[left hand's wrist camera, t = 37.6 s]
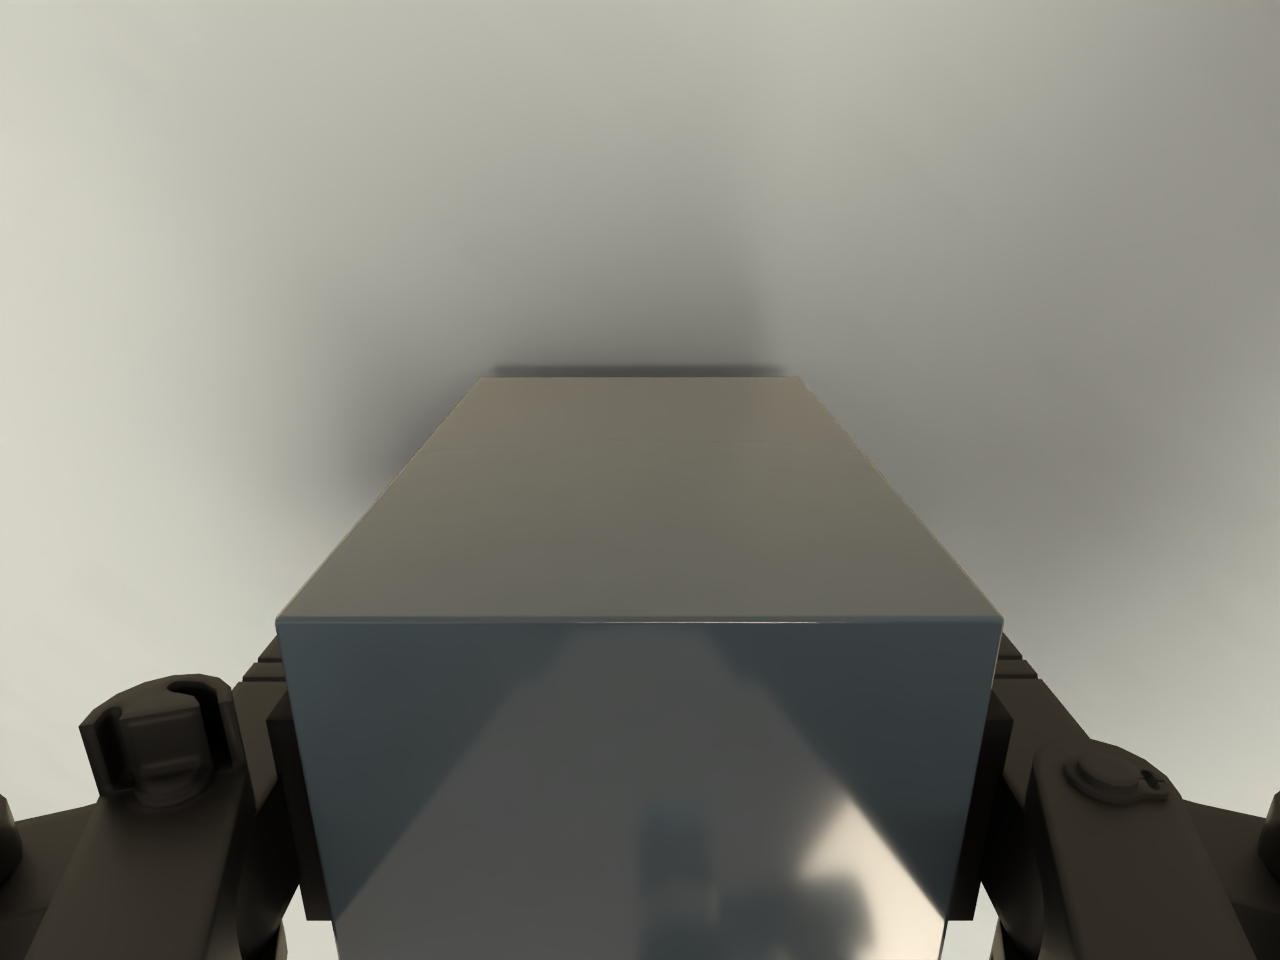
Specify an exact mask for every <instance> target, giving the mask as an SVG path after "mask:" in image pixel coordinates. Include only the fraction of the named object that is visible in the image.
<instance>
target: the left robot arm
mask: <svg viewBox="0 0 1280 960" xmlns="http://www.w3.org/2000/svg"><path fill="white" fill-rule="evenodd" d="M79 730H80V733H81V736H82V740H83V743H84V746H85V749H86V753H87V756H88V759H89V762H90V765H91V769H92V772H93V775H94V778H95V782H96V785H97V788H98V791H99V795H100V796H99V798H98V801H97V803H95V804H91V805H88V806H84V807H80V808H76V809H71V810H66V811H62V812H57V813H53V814H48V815H44V816H39V817H34V818H30V819H25V820H21V821H16V822H15V821H14V819H13V816H12V813H11V810H10V808H9V805H8V802H7V799H6V798H5V797H3V796H2V795H1V794H0V960H287V953H288V952H287V944H286V936H285V931H284V926H283V922H282V918H283V916H284V913H285V911H286V909H287V907H288V905H289V903H290V901H291V899H292V897H293V895H294V893H295V891H296V889H297V887H298V885H300V890H301V895H302V900H303V905H304V910H305V914H306V919H307V921H331V916H330V910H329V905H328V900H327V895H326V889H325V884H324V879H323V874H322V868H321V863H320V858H319V852H318V847H317V842H316V837H315V831H314V826H313V821H312V816H311V810H310V805H309V800H308V795H307V789H306V784H305V779H304V774H303V768H302V763H301V758H300V753H299V747H298V742H297V737H296V732H295V726H294V721H293V716H292V711H291V705H290V700H289V695H288V690H287V684H286V679H285V674H284V669H283V663H282V658H281V653H280V648H279V642H278V637H277V636H276V637H275V638H274V639H273V640H272V642H271V643H270V644H269V645H268V647H267V648H266V649H265V650H264V651H263V653H262V654H261V655H260V656H259V658H258V663H254V664H253V665H252V666H251V667H250V669H249V670H248V671H247V672H246V674H245V675H244V676H243V681H242V682H238V683H237V685H236V686H235V687H234V688H233V690H232V691H231V687H230V686H229V685H227V684H226V683H225V682H224V681H222V680H221V679H220V678H218V677H213V676H208V675H203V674H187V675H172V676H168V677H164V678H160V679H156V680H152V681H148V682H144V683H142V684H140V685H137V686H135V687H132V688H130V689H128V690H125V691H123V692H121V693H118V694H116V695H115V696H113V697H112V698H110V699H109V700H107V701H106V702H104V703H103V704H101V705H100V706H98V707H97V708H95V709H94V710H93V711H92V712H91V713H90V714H89V715H88V716H87V717H86V719H85V720H84V721H83V722H82V723H81V724H80V725H79ZM981 882H982V884H983V886H984V888H985V890H986V892H987V894H988V896H989V898H990V900H991V902H992V904H993V906H994V908H995V910H996V912H997V914H998V916H999V917H998V922H997V926H996V931H995V936H994V940H993V945H992V949H991V954H990V958H989V960H1280V791H1279V792H1278V793H1277V794H1275V795H1274V798H1273V801H1272V803H1271V806H1270V809H1269V812H1268V814H1267V817H1266V818H1262V817H1257V816H1253V815H1248V814H1243V813H1239V812H1234V811H1230V810H1225V809H1220V808H1216V807H1211V806H1207V805H1202V804H1197V803H1194V802H1190V801H1187V800H1183V799H1182V797H1181V795H1180V793H1179V792H1178V791H1177V789H1176V788H1175V787H1174V785H1173V784H1172V783H1171V781H1170V780H1169V779H1168V777H1167V776H1166V775H1164V774H1163V773H1162V772H1160V771H1159V770H1158V769H1157V768H1155V767H1154V766H1153V765H1151V764H1150V763H1149V762H1147V761H1146V760H1145V759H1143V758H1141V757H1139V756H1137V755H1134V754H1132V753H1130V752H1128V751H1126V750H1124V749H1122V748H1120V747H1118V746H1114V745H1111V744H1107V743H1104V742H1100V741H1097V740H1093V739H1090V738H1089V737H1088V735H1087V734H1086V733H1085V732H1084V730H1083V729H1082V728H1081V727H1080V726H1079V724H1078V723H1077V722H1076V721H1075V719H1074V718H1073V717H1072V716H1071V715H1070V713H1069V712H1068V711H1067V710H1066V708H1065V707H1064V706H1063V705H1062V704H1061V702H1060V701H1059V700H1058V699H1057V697H1056V696H1055V695H1054V694H1053V693H1052V691H1051V690H1050V689H1049V688H1048V686H1047V685H1046V684H1045V683H1044V682H1043V680H1042V679H1038V677H1037V673H1036V672H1035V671H1034V669H1033V668H1032V667H1031V666H1030V665H1029V663H1028V662H1027V661H1026V660H1022V655H1021V654H1020V652H1019V651H1018V650H1017V649H1016V647H1015V646H1014V645H1013V644H1012V643H1011V641H1010V640H1009V639H1008V638H1007V636H1006V635H1005V634H1004V633H1003V632H1002V636H1001V642H1000V647H999V652H998V657H997V663H996V668H995V673H994V679H993V684H992V689H991V695H990V700H989V705H988V711H987V716H986V721H985V727H984V732H983V737H982V743H981V748H980V753H979V759H978V764H977V769H976V775H975V780H974V785H973V791H972V796H971V801H970V806H969V812H968V817H967V822H966V828H965V833H964V838H963V844H962V849H961V854H960V860H959V865H958V870H957V876H956V881H955V886H954V892H953V897H952V902H951V908H950V913H949V918H948V921H973V917H974V913H975V908H976V903H977V898H978V893H979V888H980V883H981Z"/></svg>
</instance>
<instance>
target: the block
mask: <svg viewBox="0 0 1280 960" xmlns="http://www.w3.org/2000/svg"><path fill="white" fill-rule="evenodd" d="M275 626H276V632H277V637H278V642H279V648H280V653H281V658H282V663H283V669H284V674H285V679H286V684H287V690H288V695H289V700H290V705H291V711H292V716H293V721H294V726H295V732H296V737H297V742H298V747H299V753H300V758H301V763H302V768H303V774H304V779H305V784H306V789H307V795H308V800H309V805H310V810H311V816H312V821H313V826H314V831H315V837H316V842H317V847H318V852H319V858H320V863H321V868H322V874H323V879H324V884H325V889H326V895H327V900H328V905H329V910H330V916H331V921H332V926H333V931H334V937H335V942H336V947H337V952H338V958H339V960H941V955H942V950H943V945H944V940H945V934H946V929H947V924H948V918H949V913H950V908H951V902H952V897H953V892H954V886H955V881H956V876H957V870H958V865H959V860H960V854H961V849H962V844H963V838H964V833H965V828H966V822H967V817H968V812H969V806H970V801H971V796H972V791H973V785H974V780H975V775H976V769H977V764H978V759H979V753H980V748H981V743H982V737H983V732H984V727H985V721H986V716H987V711H988V705H989V700H990V695H991V689H992V684H993V679H994V673H995V668H996V663H997V657H998V652H999V647H1000V642H1001V636H1002V631H1003V626H1004V620H1003V616H1002V615H1001V614H1000V613H999V612H998V610H997V609H996V608H995V607H994V606H993V605H992V603H991V602H990V601H989V600H988V599H987V597H986V596H985V595H984V594H983V593H982V592H981V590H980V589H979V588H978V587H977V586H976V585H975V583H974V582H973V581H972V580H971V579H970V577H969V576H968V575H967V574H966V573H965V572H964V570H963V569H962V568H961V567H960V566H959V565H958V563H957V562H956V561H955V560H954V559H953V558H952V556H951V555H950V554H949V553H948V552H947V550H946V549H945V548H944V547H943V546H942V545H941V543H940V542H939V541H938V540H937V539H936V538H935V536H934V535H933V534H932V533H931V532H930V530H929V529H928V528H927V527H926V526H925V525H924V523H923V522H922V521H921V520H920V519H919V518H918V516H917V515H916V514H915V513H914V512H913V510H912V509H911V508H910V507H909V506H908V505H907V503H906V502H905V501H904V500H903V499H902V498H901V496H900V495H899V494H898V493H897V492H896V491H895V489H894V488H893V487H892V486H891V485H890V483H889V482H888V481H887V480H886V479H885V478H884V476H883V475H882V474H881V473H880V472H879V471H878V469H877V468H876V467H875V466H874V465H873V463H872V462H871V461H870V460H869V459H868V458H867V456H866V455H865V454H864V453H863V452H862V451H861V449H860V448H859V447H858V446H857V445H856V444H855V442H854V441H853V440H852V439H851V438H850V436H849V435H848V434H847V433H846V432H845V431H844V429H843V428H842V427H841V426H840V425H839V424H838V422H837V421H836V420H835V419H834V418H833V416H832V415H831V414H830V413H829V412H828V411H827V409H826V408H825V407H824V406H823V405H822V404H821V402H820V401H819V400H818V399H817V398H816V396H815V395H814V394H813V393H812V392H811V391H810V389H809V388H808V387H807V386H806V385H805V384H804V382H803V381H802V380H801V379H800V378H799V377H481V378H479V380H478V381H477V382H476V383H475V384H474V385H473V387H472V388H471V389H470V390H469V391H468V393H467V394H466V395H465V396H464V397H463V398H462V400H461V401H460V402H459V403H458V404H457V405H456V407H455V408H454V409H453V410H452V411H451V412H450V414H449V415H448V416H447V417H446V418H445V420H444V421H443V422H442V423H441V424H440V425H439V427H438V428H437V429H436V430H435V431H434V432H433V434H432V435H431V436H430V437H429V438H428V439H427V441H426V442H425V443H424V444H423V445H422V447H421V448H420V449H419V450H418V451H417V452H416V454H415V455H414V456H413V457H412V458H411V459H410V461H409V462H408V463H407V464H406V465H405V466H404V468H403V469H402V470H401V471H400V472H399V474H398V475H397V476H396V477H395V478H394V479H393V481H392V482H391V483H390V484H389V485H388V486H387V488H386V489H385V490H384V491H383V492H382V493H381V495H380V496H379V497H378V498H377V499H376V500H375V502H374V503H373V504H372V505H371V506H370V508H369V509H368V510H367V511H366V512H365V513H364V515H363V516H362V517H361V518H360V519H359V520H358V522H357V523H356V524H355V525H354V526H353V527H352V529H351V530H350V531H349V532H348V533H347V535H346V536H345V537H344V538H343V539H342V540H341V542H340V543H339V544H338V545H337V546H336V547H335V549H334V550H333V551H332V552H331V553H330V554H329V556H328V557H327V558H326V559H325V560H324V562H323V563H322V564H321V565H320V566H319V567H318V569H317V570H316V571H315V572H314V573H313V574H312V576H311V577H310V578H309V579H308V580H307V581H306V583H305V584H304V585H303V586H302V587H301V588H300V590H299V591H298V592H297V593H296V594H295V596H294V597H293V598H292V599H291V600H290V601H289V603H288V604H287V605H286V606H285V607H284V608H283V610H282V611H281V612H280V613H279V614H278V615H277V617H276V620H275Z"/></svg>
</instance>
